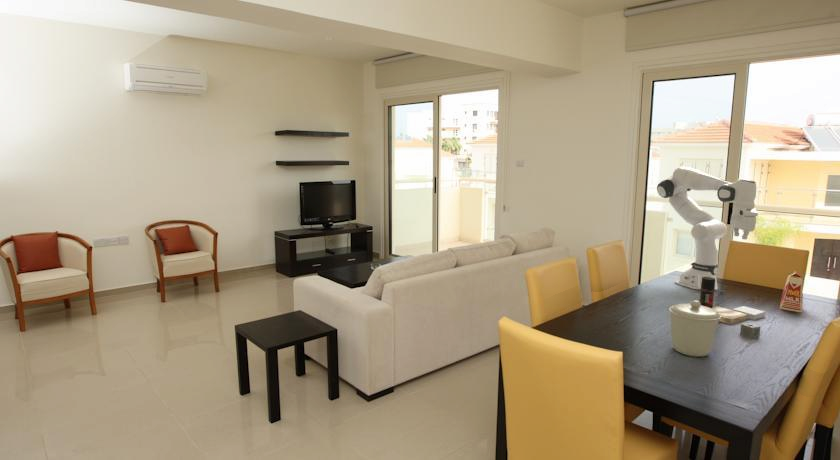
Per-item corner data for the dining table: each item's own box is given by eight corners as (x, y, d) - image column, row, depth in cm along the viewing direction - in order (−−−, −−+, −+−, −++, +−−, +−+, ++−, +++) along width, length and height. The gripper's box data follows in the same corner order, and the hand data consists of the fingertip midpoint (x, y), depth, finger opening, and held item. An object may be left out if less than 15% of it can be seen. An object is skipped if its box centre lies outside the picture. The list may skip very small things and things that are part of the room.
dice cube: (739, 334, 217) (741, 323, 216) (747, 333, 219) (749, 322, 218) (750, 338, 212) (752, 327, 212) (759, 337, 214) (760, 326, 213)
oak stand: (701, 315, 242) (701, 310, 241) (717, 311, 249) (717, 305, 248) (731, 324, 230) (731, 318, 229) (747, 319, 237) (747, 314, 236)
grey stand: (732, 313, 244) (732, 309, 244) (742, 310, 250) (743, 306, 249) (754, 320, 236) (754, 314, 236) (764, 316, 241) (765, 311, 241)
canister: (671, 339, 211) (676, 291, 207) (720, 350, 199) (726, 299, 196) (660, 352, 197) (664, 301, 193) (712, 365, 185) (718, 311, 182)
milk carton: (802, 312, 248) (807, 273, 245) (779, 308, 253) (784, 270, 250) (802, 308, 255) (807, 270, 252) (780, 304, 260) (785, 267, 257)
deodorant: (709, 305, 258) (712, 277, 256) (714, 308, 252) (717, 280, 250) (697, 304, 259) (699, 276, 256) (702, 308, 253) (705, 279, 250)
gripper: (728, 208, 263) (725, 234, 266) (745, 212, 244) (742, 240, 246) (741, 208, 262) (738, 234, 264) (759, 213, 242) (756, 241, 245)
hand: (740, 237), depth 255 cm, fingers open, 8 cm apart
